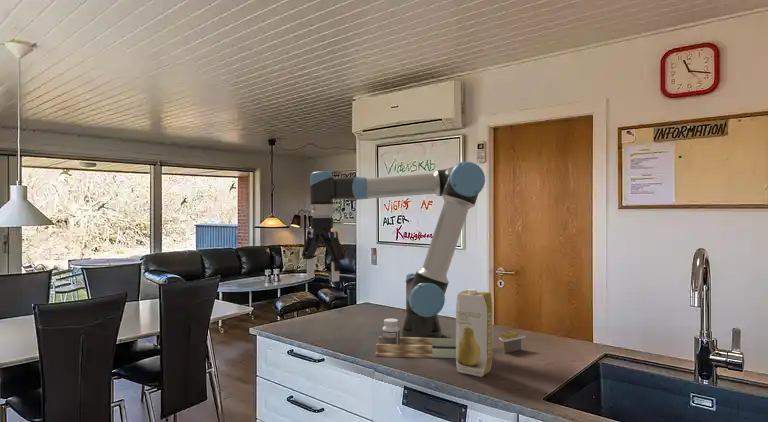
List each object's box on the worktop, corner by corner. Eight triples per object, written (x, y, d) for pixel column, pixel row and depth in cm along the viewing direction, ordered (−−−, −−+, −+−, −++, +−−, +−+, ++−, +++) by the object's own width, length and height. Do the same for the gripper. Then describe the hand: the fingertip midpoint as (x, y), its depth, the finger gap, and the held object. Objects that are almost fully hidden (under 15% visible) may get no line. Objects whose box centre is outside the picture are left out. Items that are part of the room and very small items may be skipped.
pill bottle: (389, 346, 168) (389, 317, 168) (403, 349, 164) (403, 319, 164) (378, 350, 163) (379, 320, 163) (392, 353, 160) (392, 322, 160)
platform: (478, 351, 164) (478, 332, 164) (515, 344, 174) (515, 325, 174) (506, 361, 154) (506, 340, 154) (543, 352, 164) (543, 332, 164)
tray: (473, 346, 168) (473, 339, 168) (477, 358, 155) (477, 350, 155) (431, 345, 170) (431, 337, 170) (432, 357, 156) (432, 349, 156)
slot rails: (431, 344, 170) (431, 336, 170) (432, 357, 155) (432, 348, 155) (379, 343, 172) (379, 334, 172) (375, 356, 156) (375, 346, 156)
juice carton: (452, 372, 141) (453, 288, 141) (464, 365, 148) (465, 285, 148) (483, 379, 136) (484, 291, 136) (494, 371, 142) (495, 288, 142)
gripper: (291, 217, 175) (292, 277, 175) (336, 217, 157) (337, 284, 157) (308, 216, 180) (309, 275, 180) (354, 216, 163) (355, 281, 163)
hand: (322, 279), depth 169 cm, fingers open, 13 cm apart
